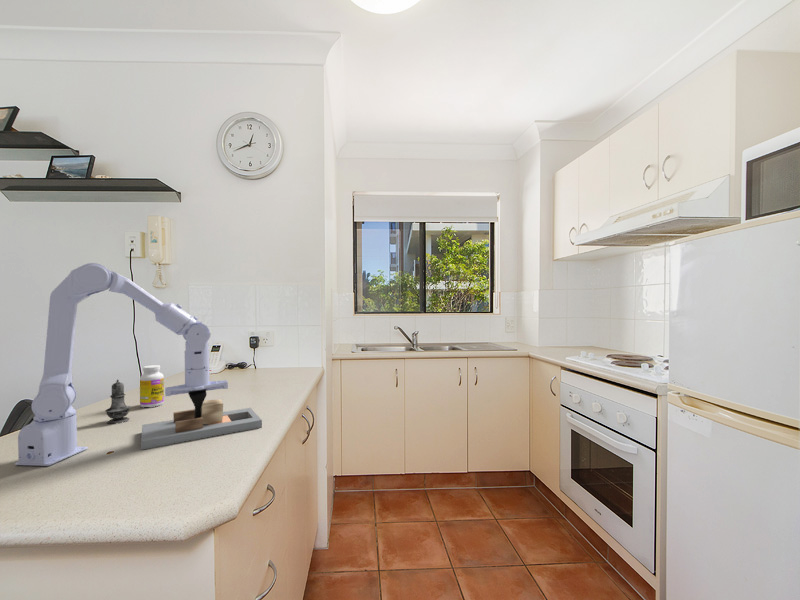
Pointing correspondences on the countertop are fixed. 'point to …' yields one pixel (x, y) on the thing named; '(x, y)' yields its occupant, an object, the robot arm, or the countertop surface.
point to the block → (212, 411)
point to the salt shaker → (117, 405)
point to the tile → (223, 420)
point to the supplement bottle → (151, 387)
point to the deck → (167, 435)
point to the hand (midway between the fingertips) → (198, 419)
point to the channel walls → (187, 421)
